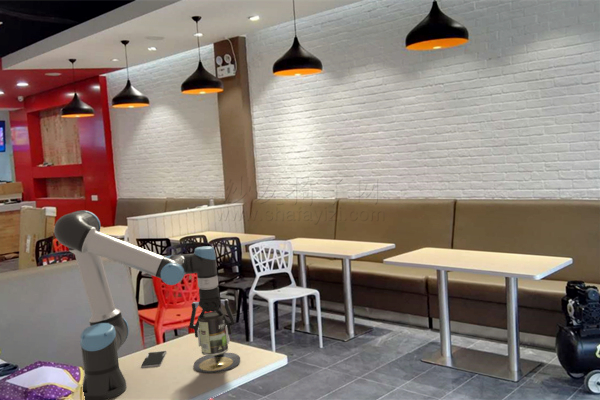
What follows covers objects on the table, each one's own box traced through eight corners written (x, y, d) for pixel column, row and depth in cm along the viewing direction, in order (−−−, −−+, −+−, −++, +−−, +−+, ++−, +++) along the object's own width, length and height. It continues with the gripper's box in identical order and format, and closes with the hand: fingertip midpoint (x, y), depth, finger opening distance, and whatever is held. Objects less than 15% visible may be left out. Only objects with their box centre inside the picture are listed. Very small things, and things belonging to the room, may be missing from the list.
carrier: (189, 375, 205) (186, 344, 204) (198, 356, 224) (195, 327, 223) (238, 371, 205) (235, 340, 204) (242, 352, 224) (239, 324, 223)
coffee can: (232, 345, 215) (228, 310, 214) (223, 355, 205) (219, 319, 204) (207, 346, 217) (203, 311, 216) (197, 356, 207) (193, 319, 206)
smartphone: (140, 366, 216) (148, 352, 231) (141, 369, 216) (148, 355, 231) (160, 364, 217) (166, 350, 232) (160, 367, 217) (167, 353, 232)
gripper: (176, 292, 205) (183, 350, 207) (237, 286, 205) (242, 344, 207) (180, 287, 212) (186, 343, 214) (239, 282, 213) (244, 337, 215)
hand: (214, 343), depth 211 cm, fingers closed on coffee can, 10 cm apart
